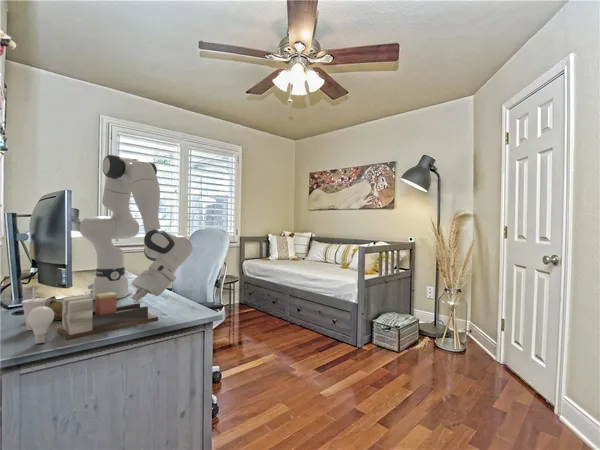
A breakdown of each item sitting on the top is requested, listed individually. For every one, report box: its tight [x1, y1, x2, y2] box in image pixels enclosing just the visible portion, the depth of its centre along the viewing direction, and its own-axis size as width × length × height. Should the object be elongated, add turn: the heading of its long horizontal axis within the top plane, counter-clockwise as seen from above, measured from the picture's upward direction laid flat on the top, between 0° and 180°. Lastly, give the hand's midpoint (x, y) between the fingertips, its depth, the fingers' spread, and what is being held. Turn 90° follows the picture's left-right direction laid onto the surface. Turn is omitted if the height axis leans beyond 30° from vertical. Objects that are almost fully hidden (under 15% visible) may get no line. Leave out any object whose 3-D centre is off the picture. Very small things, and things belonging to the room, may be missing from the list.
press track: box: [57, 294, 159, 341], centre depth 111 cm, size 12×28×11 cm, turn 138°
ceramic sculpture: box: [45, 296, 63, 321], centre depth 117 cm, size 11×9×15 cm
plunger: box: [94, 292, 117, 316], centre depth 109 cm, size 5×5×10 cm
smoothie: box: [21, 287, 47, 331], centre depth 106 cm, size 6×6×14 cm
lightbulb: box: [27, 306, 55, 345], centre depth 93 cm, size 6×6×11 cm
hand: (134, 300), depth 116 cm, fingers closed
